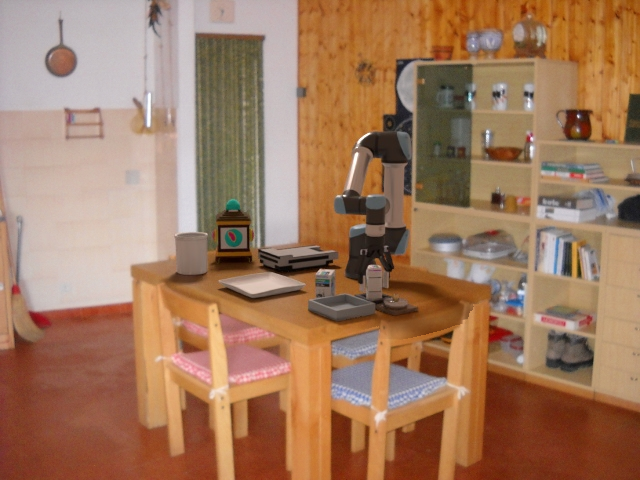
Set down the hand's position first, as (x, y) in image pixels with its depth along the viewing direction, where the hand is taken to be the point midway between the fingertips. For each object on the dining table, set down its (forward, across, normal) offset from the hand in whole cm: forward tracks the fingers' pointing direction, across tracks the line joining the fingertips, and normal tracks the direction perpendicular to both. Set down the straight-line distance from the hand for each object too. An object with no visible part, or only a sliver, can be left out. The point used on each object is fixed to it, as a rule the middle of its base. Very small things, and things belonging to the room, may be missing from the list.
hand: (374, 289), depth 304 cm
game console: (+6, +12, +71) cm, 72 cm away
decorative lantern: (+5, -7, +100) cm, 100 cm away
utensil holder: (+5, -36, +87) cm, 94 cm away
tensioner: (+5, 0, -7) cm, 8 cm away
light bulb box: (+5, -12, +16) cm, 21 cm away
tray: (+5, -19, -4) cm, 20 cm away
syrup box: (+5, 0, 0) cm, 5 cm away
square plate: (+6, -26, +42) cm, 50 cm away
